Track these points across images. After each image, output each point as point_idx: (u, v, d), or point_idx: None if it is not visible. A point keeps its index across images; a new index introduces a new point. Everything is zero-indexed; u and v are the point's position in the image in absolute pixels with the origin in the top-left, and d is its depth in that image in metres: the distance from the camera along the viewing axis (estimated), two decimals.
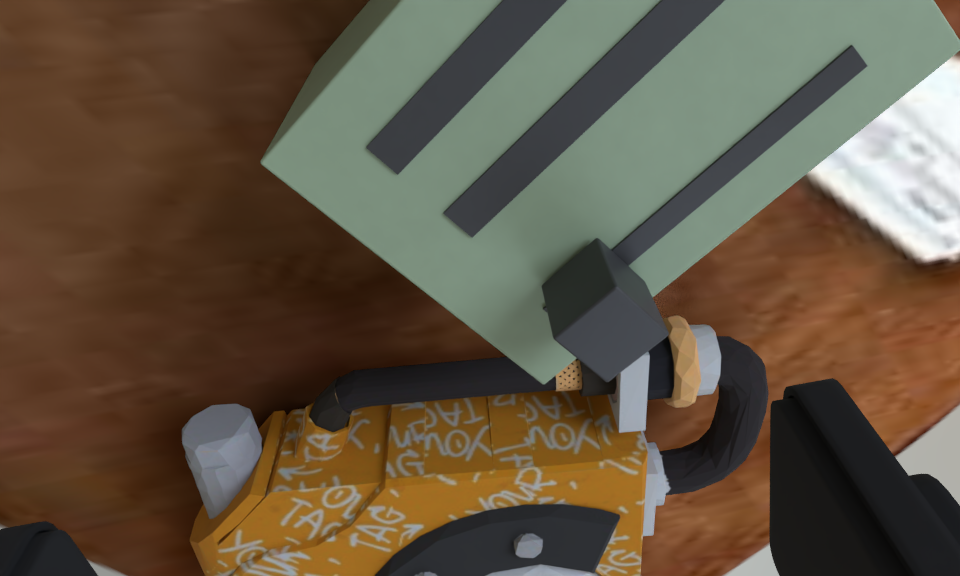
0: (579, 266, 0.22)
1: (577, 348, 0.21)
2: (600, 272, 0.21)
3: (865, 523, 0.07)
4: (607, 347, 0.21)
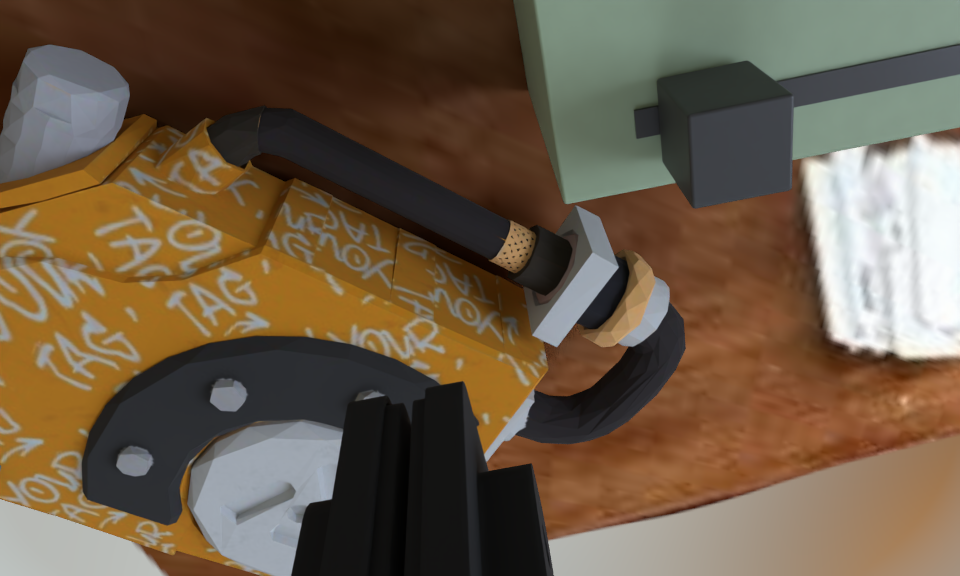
0: (724, 74, 0.18)
1: (700, 144, 0.17)
2: (763, 82, 0.17)
3: (418, 503, 0.08)
4: (728, 164, 0.17)
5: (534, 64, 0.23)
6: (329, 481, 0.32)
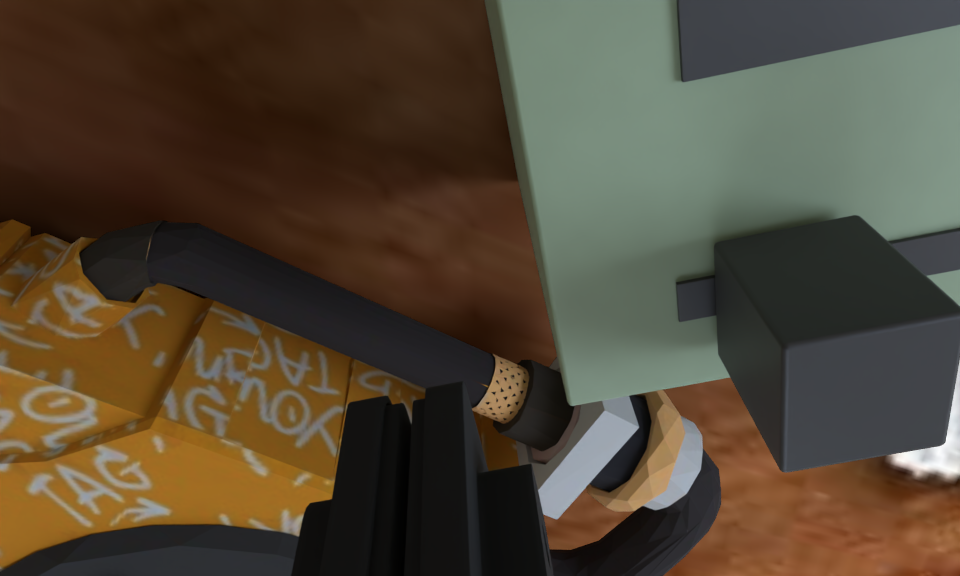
0: (825, 244, 0.12)
1: (802, 387, 0.10)
2: (900, 273, 0.11)
3: (417, 503, 0.08)
4: (846, 413, 0.10)
5: (524, 186, 0.16)
6: None
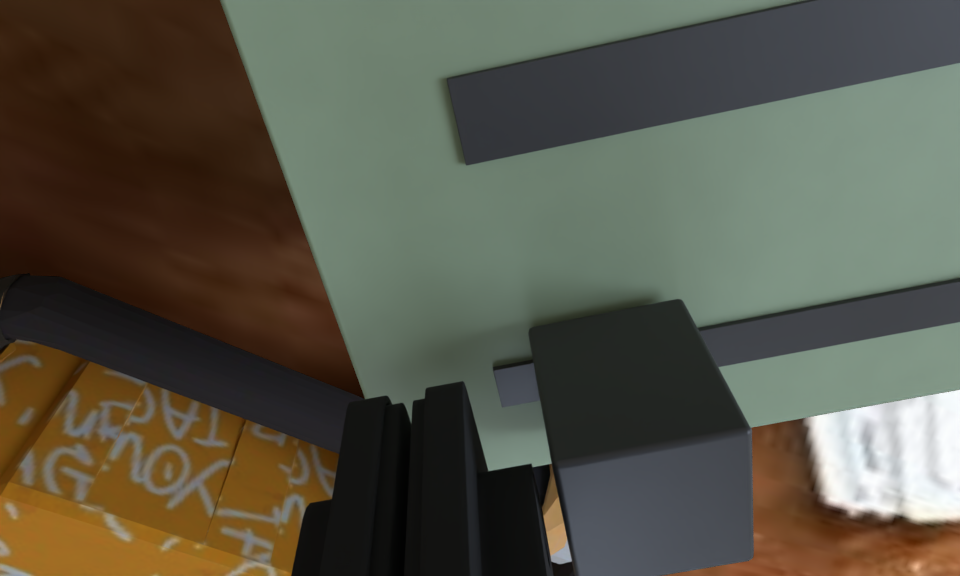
0: (636, 335, 0.11)
1: (582, 505, 0.09)
2: (699, 374, 0.10)
3: (417, 503, 0.08)
4: (636, 531, 0.09)
5: None
6: None
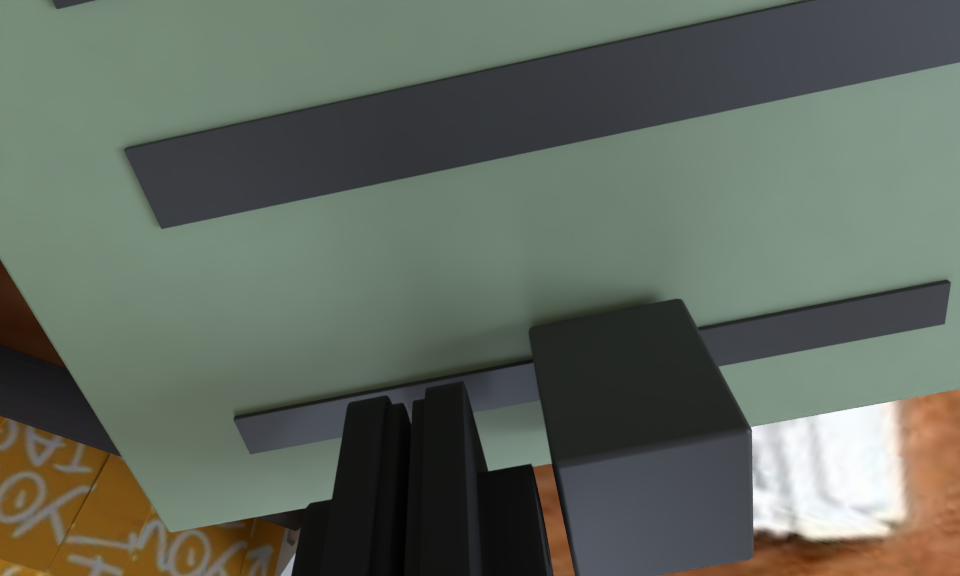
0: (636, 334, 0.11)
1: (582, 505, 0.09)
2: (699, 374, 0.10)
3: (417, 503, 0.08)
4: (637, 530, 0.09)
5: None
6: None
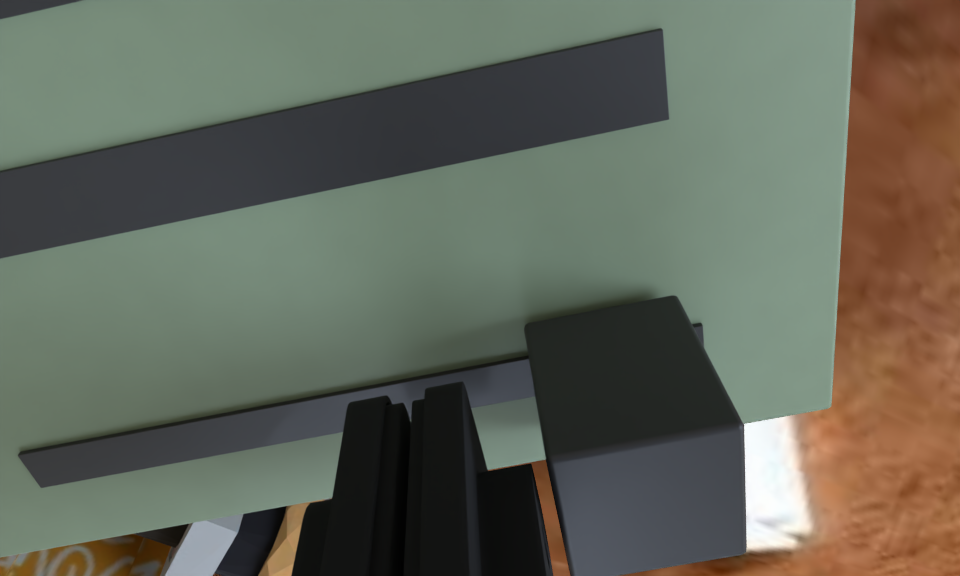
0: (631, 331, 0.11)
1: (576, 499, 0.09)
2: (692, 370, 0.10)
3: (417, 503, 0.08)
4: (630, 525, 0.10)
5: None
6: None
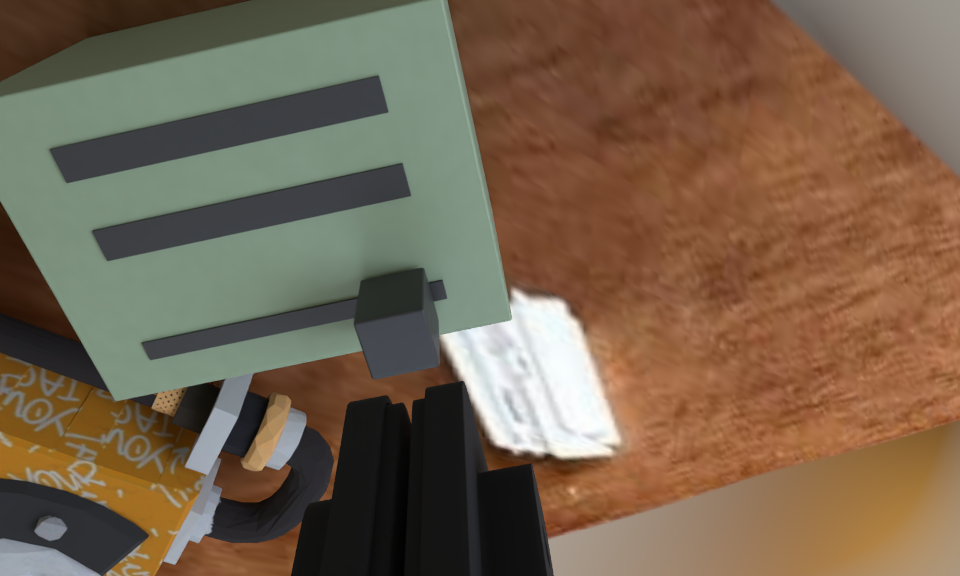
0: (399, 281, 0.26)
1: (366, 341, 0.25)
2: (415, 293, 0.25)
3: (418, 503, 0.08)
4: (389, 352, 0.25)
5: None
6: None
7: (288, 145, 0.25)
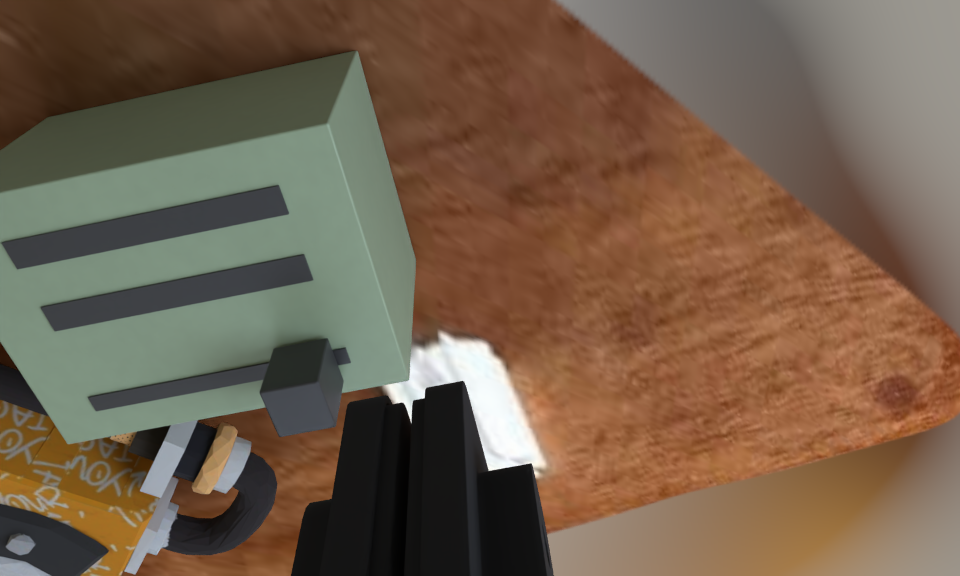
0: (304, 351, 0.31)
1: (271, 406, 0.29)
2: (314, 365, 0.30)
3: (417, 503, 0.08)
4: (291, 415, 0.29)
5: None
6: None
7: (205, 239, 0.29)
